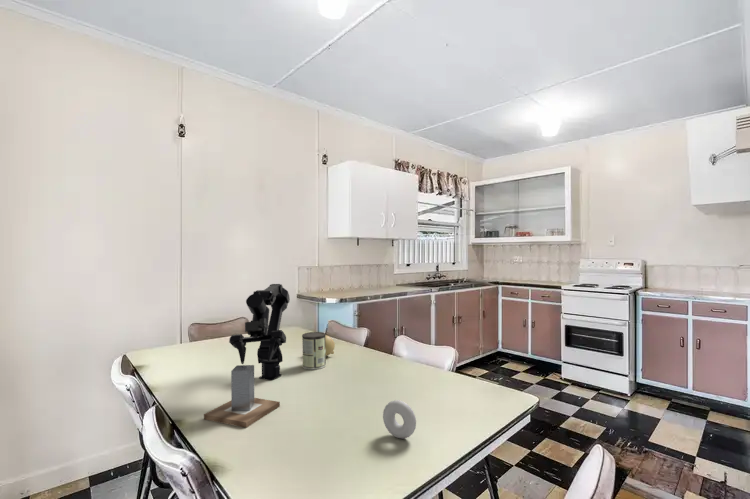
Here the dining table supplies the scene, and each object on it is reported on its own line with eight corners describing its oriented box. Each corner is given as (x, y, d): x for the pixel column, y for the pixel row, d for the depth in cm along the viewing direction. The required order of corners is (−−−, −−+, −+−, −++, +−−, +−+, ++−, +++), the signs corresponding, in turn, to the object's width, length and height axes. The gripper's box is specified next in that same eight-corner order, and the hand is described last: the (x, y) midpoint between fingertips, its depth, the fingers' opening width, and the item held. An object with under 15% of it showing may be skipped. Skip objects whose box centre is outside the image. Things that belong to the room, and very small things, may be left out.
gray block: (237, 404, 122) (236, 365, 122) (254, 403, 122) (254, 365, 122) (231, 411, 116) (231, 370, 116) (249, 410, 117) (249, 370, 117)
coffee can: (309, 361, 174) (309, 331, 174) (329, 363, 170) (329, 332, 171) (297, 368, 164) (297, 336, 164) (319, 370, 161) (318, 337, 161)
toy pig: (323, 352, 190) (323, 331, 191) (338, 356, 182) (338, 334, 182) (307, 356, 184) (307, 334, 184) (322, 361, 175) (322, 337, 175)
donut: (380, 435, 104) (380, 398, 104) (387, 430, 107) (387, 394, 107) (412, 445, 98) (412, 407, 98) (418, 440, 101) (418, 402, 101)
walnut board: (203, 419, 115) (203, 413, 115) (240, 399, 130) (240, 395, 130) (246, 427, 109) (246, 422, 109) (279, 406, 124) (279, 401, 124)
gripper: (226, 313, 132) (219, 356, 123) (279, 308, 132) (275, 350, 123) (238, 327, 141) (232, 368, 132) (287, 322, 141) (284, 362, 132)
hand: (255, 362), depth 129 cm, fingers open, 9 cm apart
